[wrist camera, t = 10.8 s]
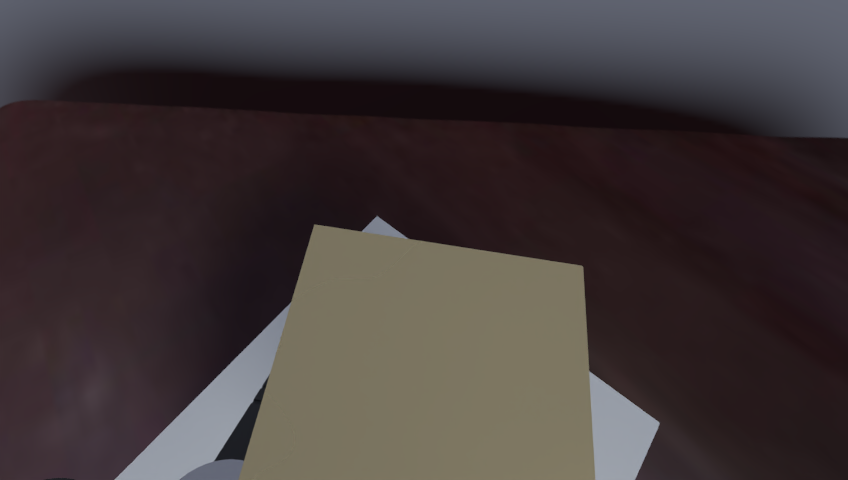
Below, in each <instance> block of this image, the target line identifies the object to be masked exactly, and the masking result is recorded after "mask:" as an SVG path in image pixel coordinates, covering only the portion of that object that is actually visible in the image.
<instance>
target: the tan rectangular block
mask: <svg viewBox="0 0 848 480" xmlns="http://www.w3.org/2000/svg"><path fill="white" fill-rule="evenodd" d="M238 480H595V464H594V447H593V430H592V412H591V395H590V378H589V360H588V343H587V326H586V309H585V291H584V274H583V266H579V265H573V264H567V263H560V262H554V261H547V260H541V259H534V258H528V257H521V256H515V255H509V254H502V253H496V252H489V251H483V250H476V249H470V248H463V247H457V246H450V245H444V244H438V243H431V242H425V241H418V240H412V239H405V238H399V237H392V236H386V235H380V234H373V233H367V232H360V231H354V230H347V229H341V228H334V227H328V226H321V225H315V224H314V228H313V231H312V234H311V238H310V241H309V244H308V248H307V251H306V254H305V258H304V261H303V264H302V268H301V271H300V275H299V278H298V281H297V285H296V288H295V291H294V295H293V298H292V301H291V305H290V308H289V311H288V315H287V318H286V322H285V325H284V328H283V332H282V335H281V338H280V342H279V345H278V348H277V352H276V355H275V358H274V362H273V365H272V369H271V372H270V375H269V379H268V382H267V385H266V389H265V392H264V395H263V399H262V402H261V405H260V409H259V412H258V416H257V419H256V422H255V426H254V429H253V432H252V436H251V439H250V442H249V446H248V449H247V452H246V456H245V459H244V462H243V466H242V469H241V473H240V476H239V479H238Z"/></svg>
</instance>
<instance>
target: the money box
mask: <svg viewBox="0 0 848 480" xmlns="http://www.w3.org/2000/svg"><path fill="white" fill-rule="evenodd" d="M362 232H367V233H373V234H380V235H386V236H392V237H399V238H405V239H408V238H406V237H405V236H404V235H402V234H401V233H399V232H398V231H397V230H395V229H394V228H393V227H391V226H390V225H389V224H387V223H386V222H384V221H383V220H382V219H380V218H379V217H378V216H377V217H376V218H375V219H374V220H373V221H372V222H371V223H370V224H369V225H368V226H367V227H366V228H365V229H364V230H363V231H362ZM290 305H291V303H290V304H289V305H288V306H287V307H286V308H285V309H284V310H283V311H282V312H281V313H280V314H279V315H278V316H277V317H276V318H275V319H274V320H273V321H272V322H271V323H270V324H269V325H268V326H267V327H266V328H265V329H264V330H263V331H262V332H261V333H260V334H259V335H258V336H257V337H256V338H255V339H254V340H253V341H252V342H251V343H250V344H249V345H248V346H247V347H246V348H245V349H244V350H243V351H242V352H241V353H240V354H239V355H238V356H237V357H236V358H235V359H234V360H233V361H232V362H231V363H230V364H229V365H228V366H227V367H226V368H225V369H224V370H223V371H222V372H221V373H220V374H219V375H218V376H217V377H216V378H215V379H214V380H213V382H212V383H211V384H210V385H209V386H208V387H207V388H206V389H205V390H204V391H203V392H202V393H201V394H200V395H199V396H198V397H197V398H196V399H195V400H194V401H193V402H192V403H191V404H190V405H189V406H188V407H187V408H186V409H185V410H184V411H183V412H182V413H181V414H180V415H179V416H178V417H177V418H176V419H175V420H174V421H173V422H172V423H171V424H170V425H169V426H168V427H167V428H166V429H165V430H164V431H163V432H162V433H161V434H160V435H159V436H158V437H157V438H156V439H155V440H154V441H153V442H152V443H151V444H150V445H149V446H148V447H147V448H146V449H145V450H144V451H143V452H142V453H141V454H140V455H139V456H138V457H137V458H136V459H135V460H134V461H133V462H132V463H131V464H130V465H129V466H128V467H127V468H126V469H125V470H124V471H123V472H122V473H121V474H120V475H119V476H118V477H117V478H116V479H115V480H180V479H181V478H182V477H183V476H185V475H186V474H187V473H189V472H190V471H192V470H194V469H196V468H198V467H200V466H202V465H205V464H207V463H211V462H214V460H215V459H216V457H217V456H218V454H219V452H220V451H221V449H222V448H223V446H224V445H225V443H226V441H227V440H228V438H229V437H230V435H231V434H232V432H233V431H234V429H235V427H236V426H237V424H238V423H239V421H240V420H241V418H242V416H243V415H244V413H245V412H246V410H247V409H248V407H249V406H250V404H251V403H253V400H254V398H255V396H256V395H257V393H258V392H259V390H260V388H261V389H262V386H263V384H264V382H265V381H266V379H267V377H268V376H269V374H270V372H271V369H272V365H273V362H274V358H275V355H276V352H277V348H278V345H279V342H280V338H281V335H282V332H283V328H284V325H285V322H286V318H287V315H288V311H289V308H290ZM589 378H590V395H591V412H592V430H593V447H594V464H595V480H635V478H636V476H637V474H638V472H639V469H640V467H641V465H642V463H643V460H644V458H645V456H646V454H647V451H648V449H649V447H650V445H651V442H652V440H653V438H654V436H655V433H656V431H657V429H658V426H659V424H660V423H659V422H658V421H656V420H655V419H654V418H652V417H651V416H650V415H648V414H647V413H645V412H644V411H643V410H641V409H640V408H639V407H637V406H636V405H634V404H633V403H632V402H630V401H629V400H628V399H626V398H625V397H624V396H622V395H621V394H619V393H618V392H617V391H615V390H614V389H613V388H611V387H610V386H609V385H607V384H606V383H604V382H603V381H602V380H600V379H599V378H598V377H596V376H595V375H593V374H592V373H591V372H589Z"/></svg>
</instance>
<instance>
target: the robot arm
mask: <svg viewBox="0 0 848 480" xmlns="http://www.w3.org/2000/svg"><path fill="white" fill-rule="evenodd" d="M269 375H270V374H269ZM268 379H269V376H268V377H267V379H266V381H265V382H264V384H263V386H262V389H261V388H260V390H259V392H258V393H257V395H256V396H255V398H254V400H253V403H251V404H250V406H249V407H248V409H247V410H246V412H245V413H244V415H243V416H242V418H241V420H240V421H239V423H238V424H237V426H236V427H235V429H234V431H233V432H232V434H231V435H230V437H229V438H228V440H227V441H226V443H225V445H224V446H223V448H222V449H221V451H220V452H219V454H218V456H217V457H216V459H215V460H214V462H211V463H207V464H205V465H202V466H200V467H198V468H196V469H194V470H192V471H190V472H189V473H187V474H186V475H185V476H183V477H182V478H181V479H180V480H238V479H239V476H240V473H241V469H242V466H243V462H244V459H245V456H246V452H247V449H248V446H249V442H250V439H251V436H252V432H253V429H254V426H255V422H256V419H257V416H258V412H259V409H260V405H261V402H262V399H263V395H264V392H265V389H266V385H267V382H268ZM46 480H74V479H67V478H54V479H46Z"/></svg>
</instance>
